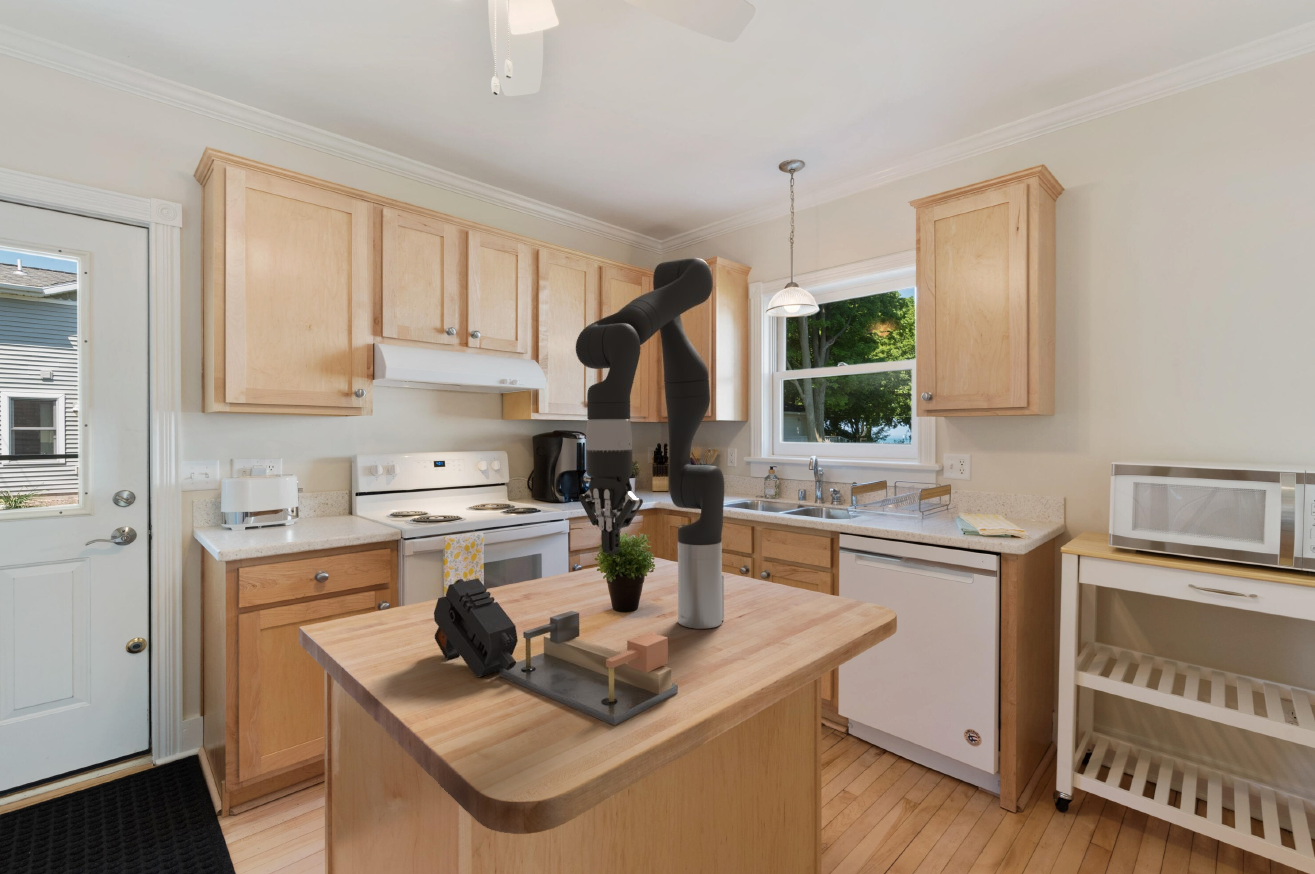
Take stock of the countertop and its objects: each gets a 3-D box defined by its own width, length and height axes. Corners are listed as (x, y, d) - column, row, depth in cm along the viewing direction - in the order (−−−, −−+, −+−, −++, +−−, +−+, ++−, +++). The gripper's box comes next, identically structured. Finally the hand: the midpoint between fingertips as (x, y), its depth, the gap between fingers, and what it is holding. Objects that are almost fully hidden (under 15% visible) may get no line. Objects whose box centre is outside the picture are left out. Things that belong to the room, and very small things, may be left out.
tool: (452, 630, 118) (474, 568, 113) (506, 705, 107) (534, 639, 102) (422, 639, 113) (444, 574, 108) (476, 718, 103) (503, 650, 98)
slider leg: (648, 674, 100) (648, 632, 99) (668, 681, 97) (667, 637, 97) (599, 697, 91) (599, 651, 91) (619, 705, 89) (618, 657, 89)
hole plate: (563, 652, 114) (563, 645, 114) (677, 692, 96) (677, 684, 96) (498, 675, 103) (498, 668, 103) (614, 725, 86) (614, 716, 86)
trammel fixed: (561, 646, 114) (560, 607, 113) (675, 685, 96) (675, 639, 96) (511, 664, 105) (510, 622, 105) (626, 710, 88) (626, 660, 88)
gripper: (655, 447, 100) (656, 554, 100) (597, 445, 108) (598, 544, 109) (622, 449, 94) (624, 562, 94) (565, 447, 103) (566, 551, 103)
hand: (610, 552), depth 102 cm, fingers closed
